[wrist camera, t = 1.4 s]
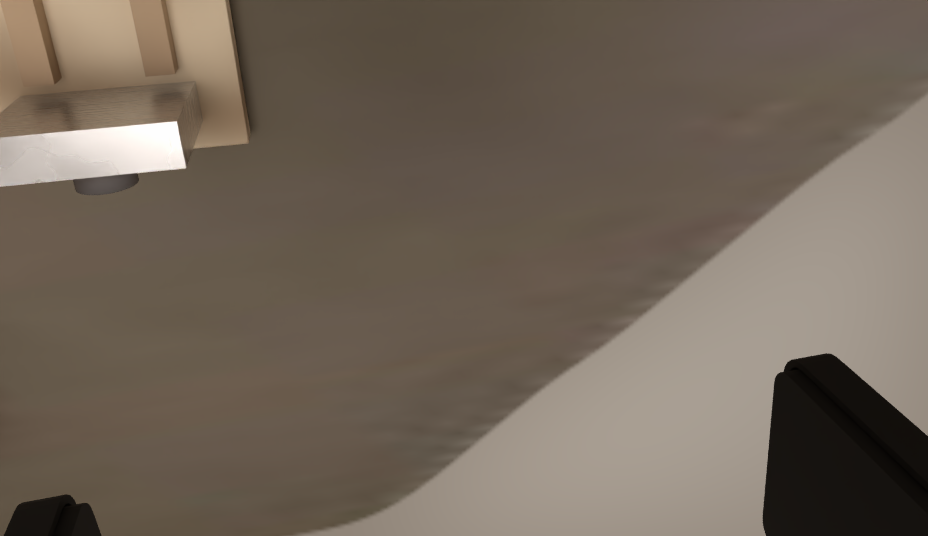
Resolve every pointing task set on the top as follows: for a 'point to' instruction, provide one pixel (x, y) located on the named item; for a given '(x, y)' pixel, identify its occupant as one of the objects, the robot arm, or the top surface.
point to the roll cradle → (115, 89)
